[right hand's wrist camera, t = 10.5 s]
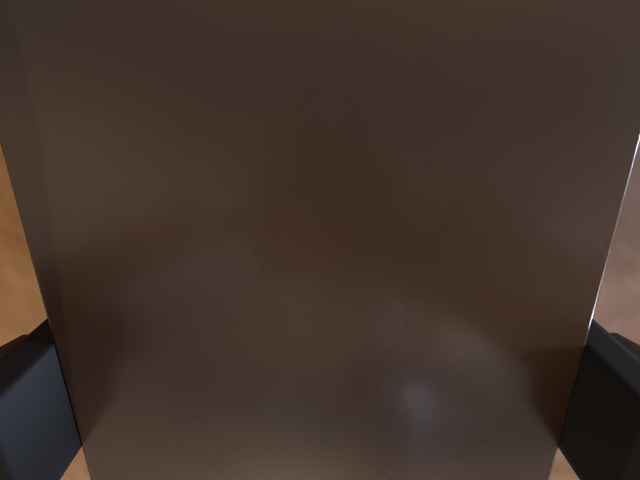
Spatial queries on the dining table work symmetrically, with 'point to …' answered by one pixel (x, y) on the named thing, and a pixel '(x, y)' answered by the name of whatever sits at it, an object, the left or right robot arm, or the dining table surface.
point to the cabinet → (319, 225)
